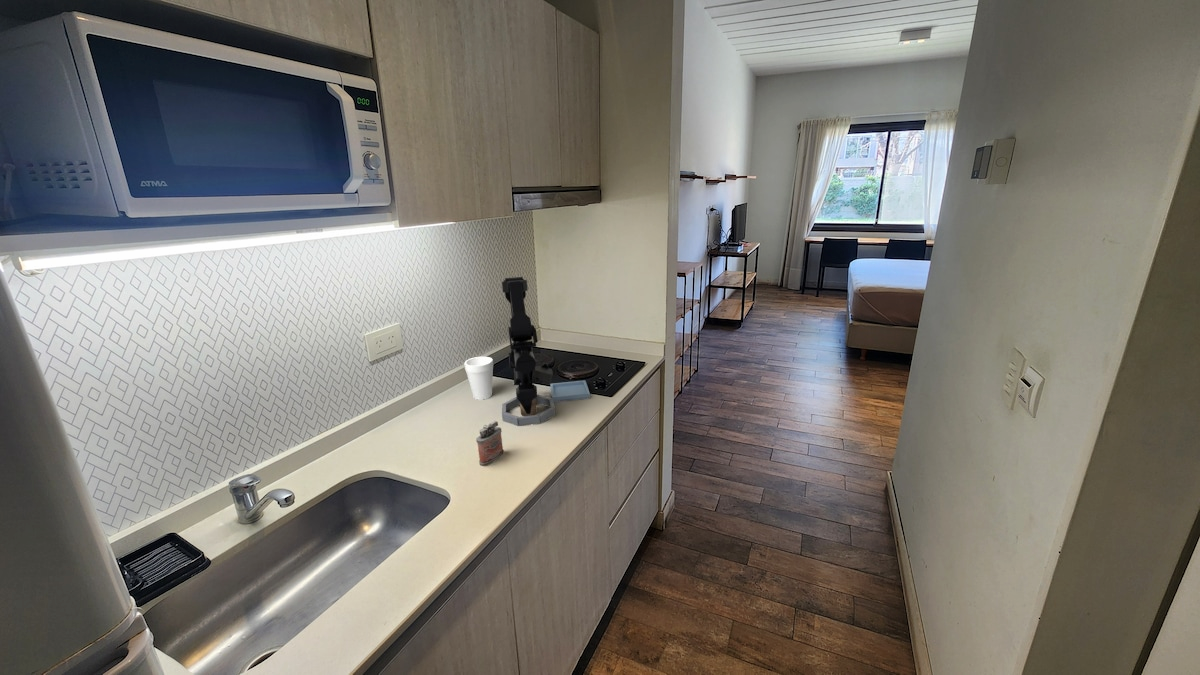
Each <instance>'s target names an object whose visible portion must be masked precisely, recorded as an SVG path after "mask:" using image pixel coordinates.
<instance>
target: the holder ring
mask: <svg viewBox="0 0 1200 675" xmlns="http://www.w3.org/2000/svg"><path fill="white" fill-rule="evenodd" d="M535 399H536V404H539V405H542V406H543V405H544V406H546V407H549V408H548V409H545V410H544V411H542V412H541V413H539V414H535V415H531V416H522V415H521V416H518V415H515V414H513V413H509V412H508V411H510V410H512V409H515V408H516V407H518V406H520V402H519V400H518V399H517V398H516V396H514V398H511V399H510V400H507V401H505V402H503V403H502V406H501V418H502V419H501V420H502V422H505V423H509V424H511V425H514V426H517V427H522V426H523V427H524V426H531V424H533V425H540V424H543V423H544V422H546V421H547V420H549V419H551V418H553V417H554V416H555V415H556V409H555V402H554V401H553V399H552V397H548V396H545V395H542V394H537V397H536V398H535Z"/></svg>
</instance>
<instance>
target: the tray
mask: <svg viewBox="0 0 1200 675" xmlns="http://www.w3.org/2000/svg"><path fill="white" fill-rule="evenodd" d="M549 385H550V392H551V398H552V399H553V401H554V403H558V402H568V401H575V400H577V401H578V400H586V399H587V398H588V399H590V398H591V393H590V391H589V387H588V384H587V381H586V380H576V381H565V382H555V383H553V382H552V383H549Z"/></svg>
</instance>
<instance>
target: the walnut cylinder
mask: <svg viewBox="0 0 1200 675" xmlns="http://www.w3.org/2000/svg"><path fill="white" fill-rule="evenodd" d="M519 406H520V409H519V410H520V416H521V417H522V416H531V415H537V414H538V413H537V412H538V411H537V403H536V399H535V398H534V399H533V400H532V406H531V413H530V414H527V413H526V411H525V410H524V408H523V407H522V405H521V403H520V405H519Z"/></svg>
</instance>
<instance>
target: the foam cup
mask: <svg viewBox="0 0 1200 675" xmlns="http://www.w3.org/2000/svg"><path fill="white" fill-rule="evenodd" d="M463 364H464V365H463V366H464V370H465V372H466V376H467V379H468V384H469V385H470V386H469V387H470V391H471V392H472V393H471V394H472V397H473V399H474V398H475V399H474V400H476V399H478V400H477V401H484V400H483V399H485V400H487V399H491V398H492V397H493V379H494V378H493V375H494V374H493V370H494V360H493V358H492V357H489V356H475V357H472V358H469V359H466V360H465V362H464V363H463Z"/></svg>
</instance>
